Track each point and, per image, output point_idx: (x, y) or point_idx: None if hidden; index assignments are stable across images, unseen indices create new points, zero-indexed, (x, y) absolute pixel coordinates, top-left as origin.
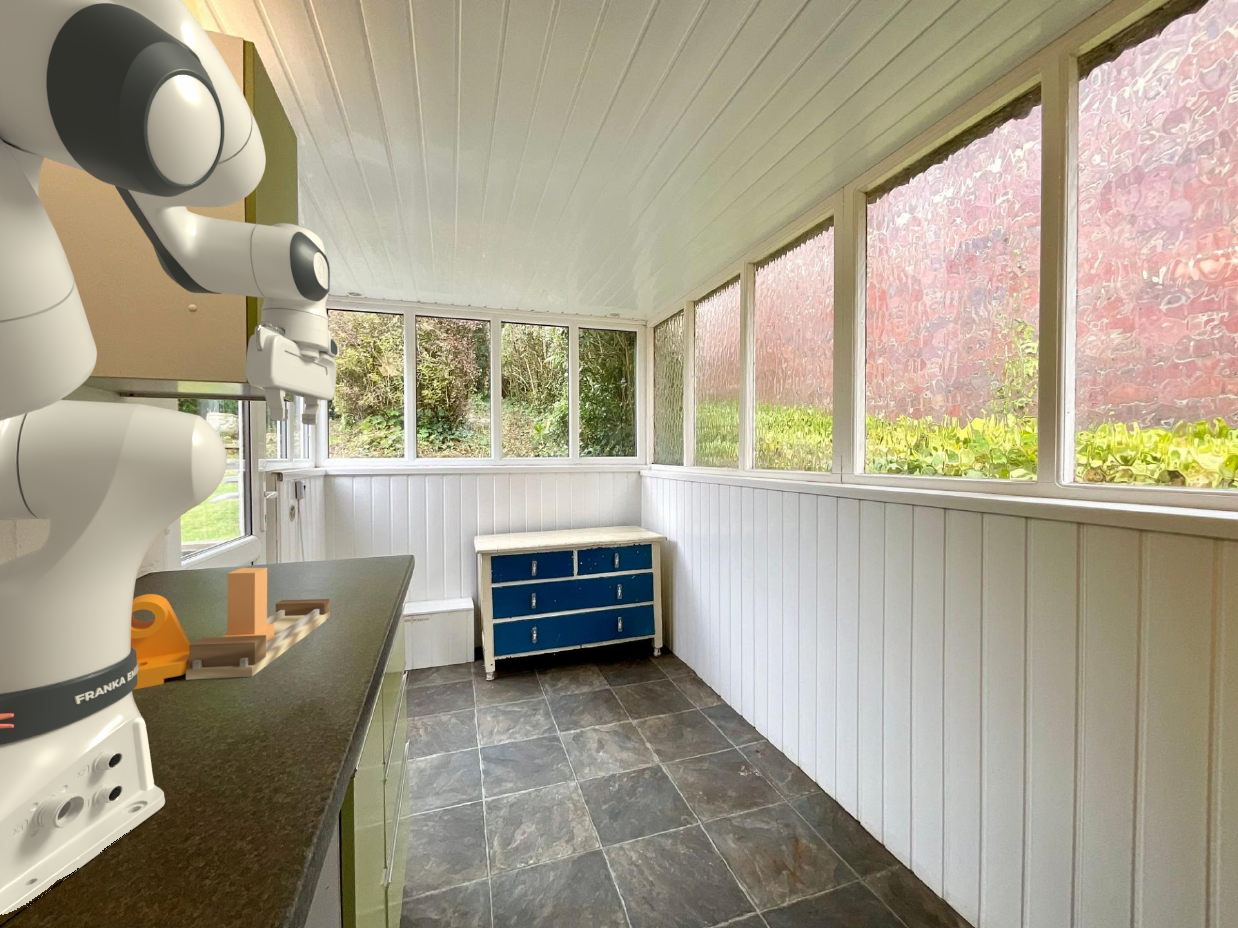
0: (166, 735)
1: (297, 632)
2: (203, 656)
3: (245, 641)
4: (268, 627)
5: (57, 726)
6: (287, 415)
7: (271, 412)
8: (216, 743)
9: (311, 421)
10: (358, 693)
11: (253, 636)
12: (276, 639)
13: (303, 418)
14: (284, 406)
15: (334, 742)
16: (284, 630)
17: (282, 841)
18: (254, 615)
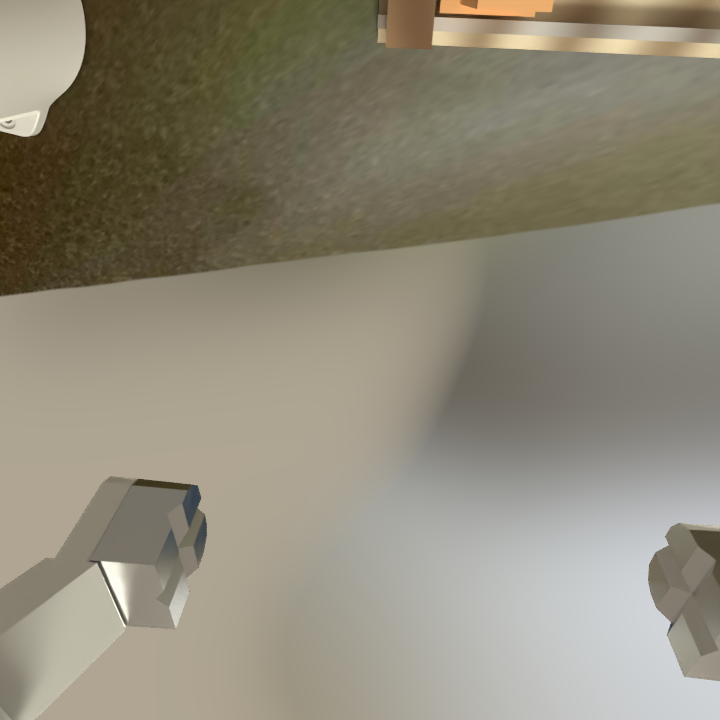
0: (170, 16)
1: (584, 45)
2: None
3: (395, 18)
4: (506, 15)
5: None
6: (186, 576)
7: (83, 529)
8: (155, 116)
9: (656, 591)
10: (290, 258)
11: (426, 20)
12: (502, 33)
13: (706, 573)
14: (97, 646)
15: (167, 267)
16: (561, 26)
17: (22, 273)
18: (464, 4)
